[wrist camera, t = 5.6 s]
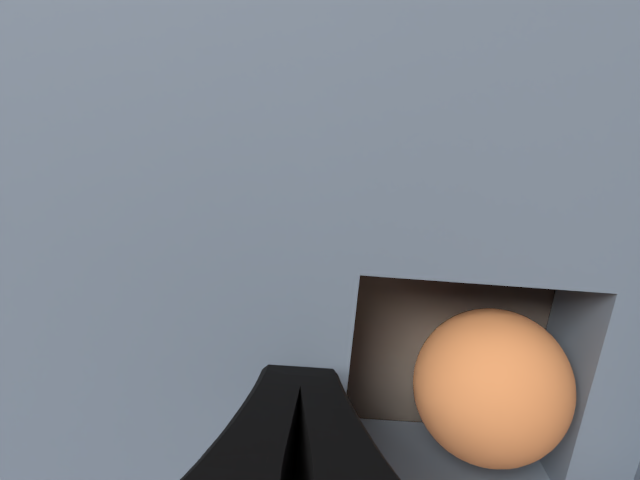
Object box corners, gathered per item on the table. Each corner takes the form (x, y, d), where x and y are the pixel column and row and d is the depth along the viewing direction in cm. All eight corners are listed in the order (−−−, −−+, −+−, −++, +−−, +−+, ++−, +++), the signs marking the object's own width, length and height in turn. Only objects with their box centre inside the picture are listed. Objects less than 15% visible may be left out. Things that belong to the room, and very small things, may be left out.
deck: (568, 588, 17) (633, 728, 13) (-196, 547, 16) (-334, 684, 12) (746, 6, 11) (930, -11, 8) (-380, -96, 11) (-707, -163, 7)
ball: (388, 413, 14) (503, 372, 15) (464, 529, 11) (599, 471, 12) (385, 302, 12) (513, 264, 13) (473, 406, 10) (629, 349, 11)
